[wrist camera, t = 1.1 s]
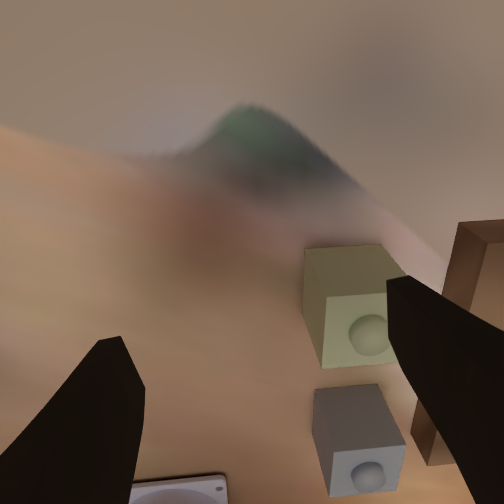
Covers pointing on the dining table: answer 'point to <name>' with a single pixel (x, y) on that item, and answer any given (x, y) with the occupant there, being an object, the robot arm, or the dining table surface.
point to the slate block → (356, 440)
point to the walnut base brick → (467, 307)
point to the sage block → (348, 304)
